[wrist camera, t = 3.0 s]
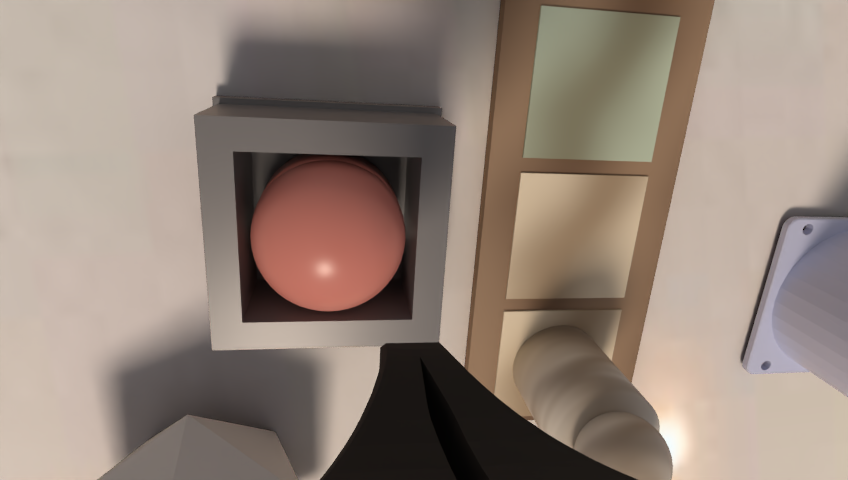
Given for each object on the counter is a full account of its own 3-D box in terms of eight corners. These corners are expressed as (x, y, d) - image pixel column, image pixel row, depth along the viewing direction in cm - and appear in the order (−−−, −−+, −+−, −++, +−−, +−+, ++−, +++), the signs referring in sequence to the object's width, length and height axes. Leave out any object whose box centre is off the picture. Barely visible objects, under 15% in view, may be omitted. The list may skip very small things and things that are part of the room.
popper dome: (400, 149, 20) (420, 179, 15) (394, 275, 21) (411, 338, 17) (258, 144, 19) (233, 175, 14) (263, 275, 20) (242, 342, 16)
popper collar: (438, 106, 20) (462, 119, 16) (425, 299, 23) (443, 349, 19) (215, 95, 19) (185, 107, 15) (229, 301, 21) (205, 356, 18)
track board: (741, -175, 19) (756, -183, 18) (618, 407, 26) (625, 416, 26) (521, -208, 17) (528, -218, 17) (459, 415, 25) (463, 424, 24)
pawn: (604, 324, 24) (717, 440, 17) (589, 400, 25) (689, 538, 18) (518, 326, 23) (598, 448, 16) (507, 404, 24) (577, 548, 17)
